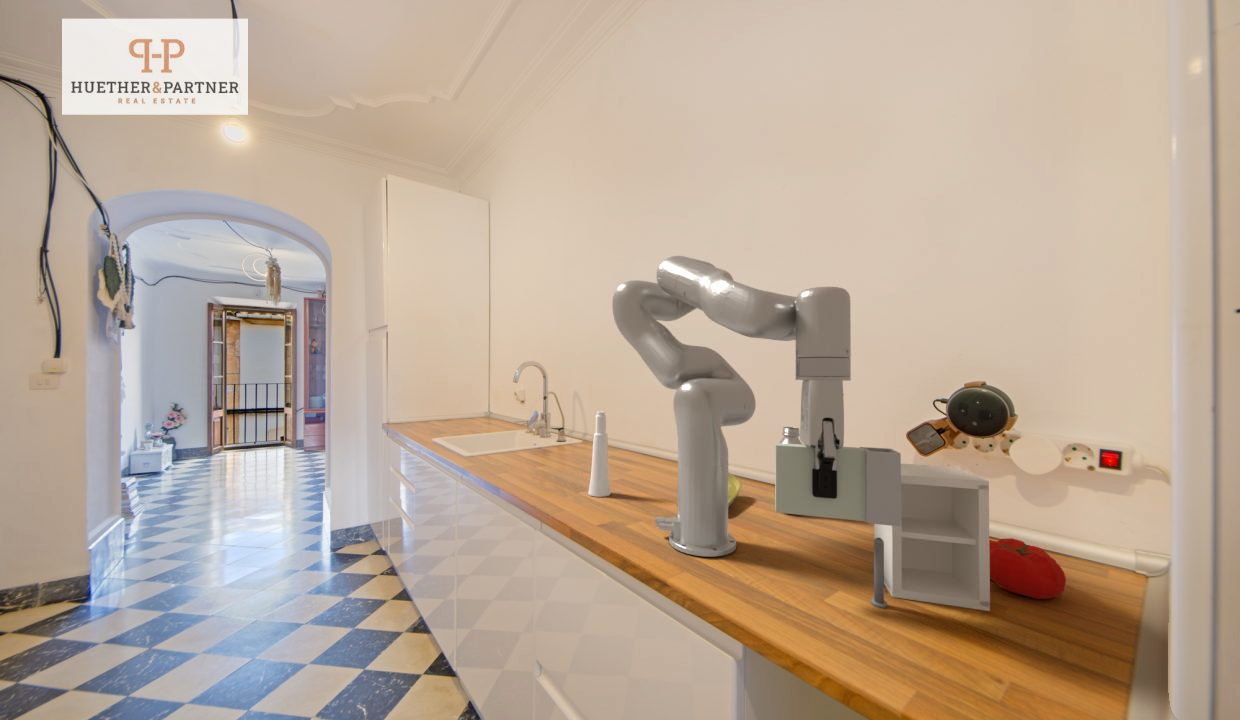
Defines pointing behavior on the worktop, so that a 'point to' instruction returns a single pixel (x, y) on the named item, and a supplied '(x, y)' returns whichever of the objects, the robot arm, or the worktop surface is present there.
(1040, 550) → the tomato
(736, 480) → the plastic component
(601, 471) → the cosmetic bottle
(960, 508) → the cabinet
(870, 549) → the worktop surface
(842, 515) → the storage box
